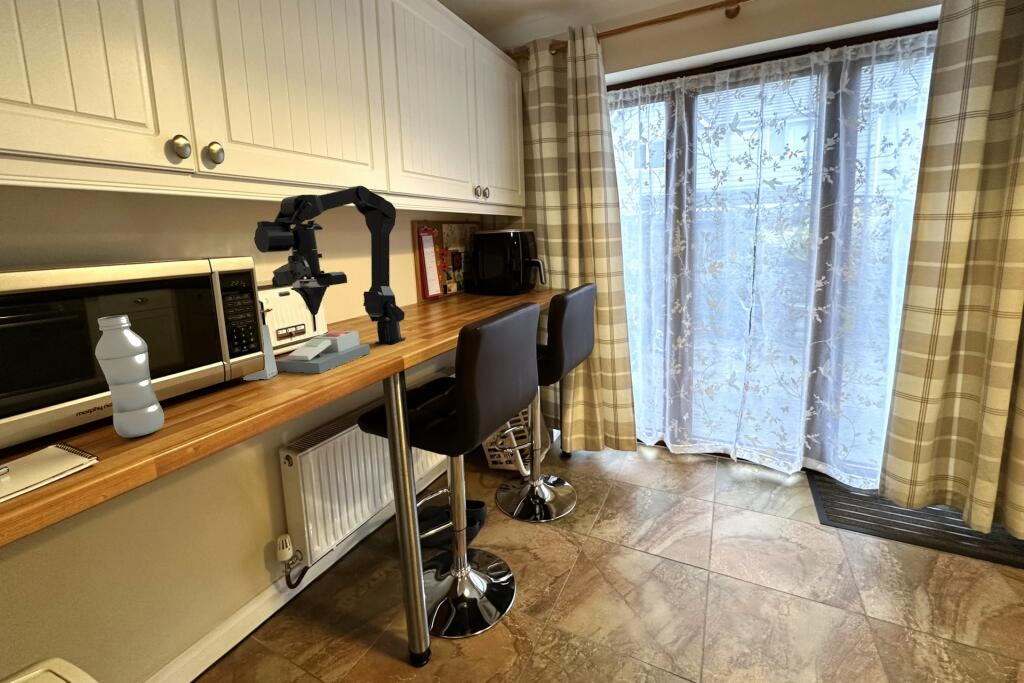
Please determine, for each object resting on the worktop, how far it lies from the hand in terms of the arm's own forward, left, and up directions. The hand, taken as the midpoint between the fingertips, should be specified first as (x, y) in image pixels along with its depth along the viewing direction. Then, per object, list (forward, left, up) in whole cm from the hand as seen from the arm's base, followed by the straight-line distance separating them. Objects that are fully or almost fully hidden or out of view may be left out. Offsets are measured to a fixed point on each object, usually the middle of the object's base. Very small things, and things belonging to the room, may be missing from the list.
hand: (314, 314), depth 116 cm
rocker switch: (+3, 0, -8) cm, 9 cm away
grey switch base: (-1, 0, -12) cm, 12 cm away
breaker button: (-6, 0, -10) cm, 11 cm away
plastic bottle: (+43, +2, -13) cm, 45 cm away
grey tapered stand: (+13, -6, -13) cm, 19 cm away
